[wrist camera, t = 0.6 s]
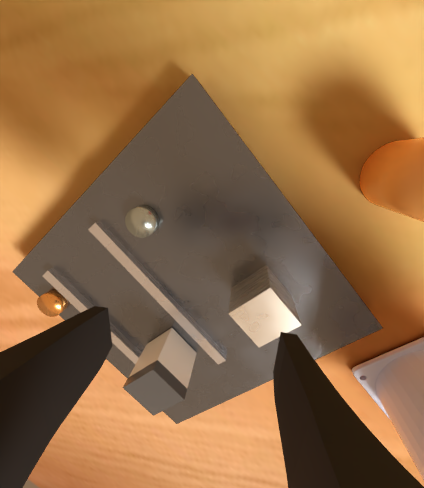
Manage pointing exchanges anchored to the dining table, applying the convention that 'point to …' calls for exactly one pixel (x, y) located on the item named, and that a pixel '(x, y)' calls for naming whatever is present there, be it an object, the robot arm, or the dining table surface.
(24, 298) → the dining table surface
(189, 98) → the panel
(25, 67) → the dining table surface
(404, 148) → the cap
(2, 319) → the dining table surface
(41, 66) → the dining table surface
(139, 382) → the lever
